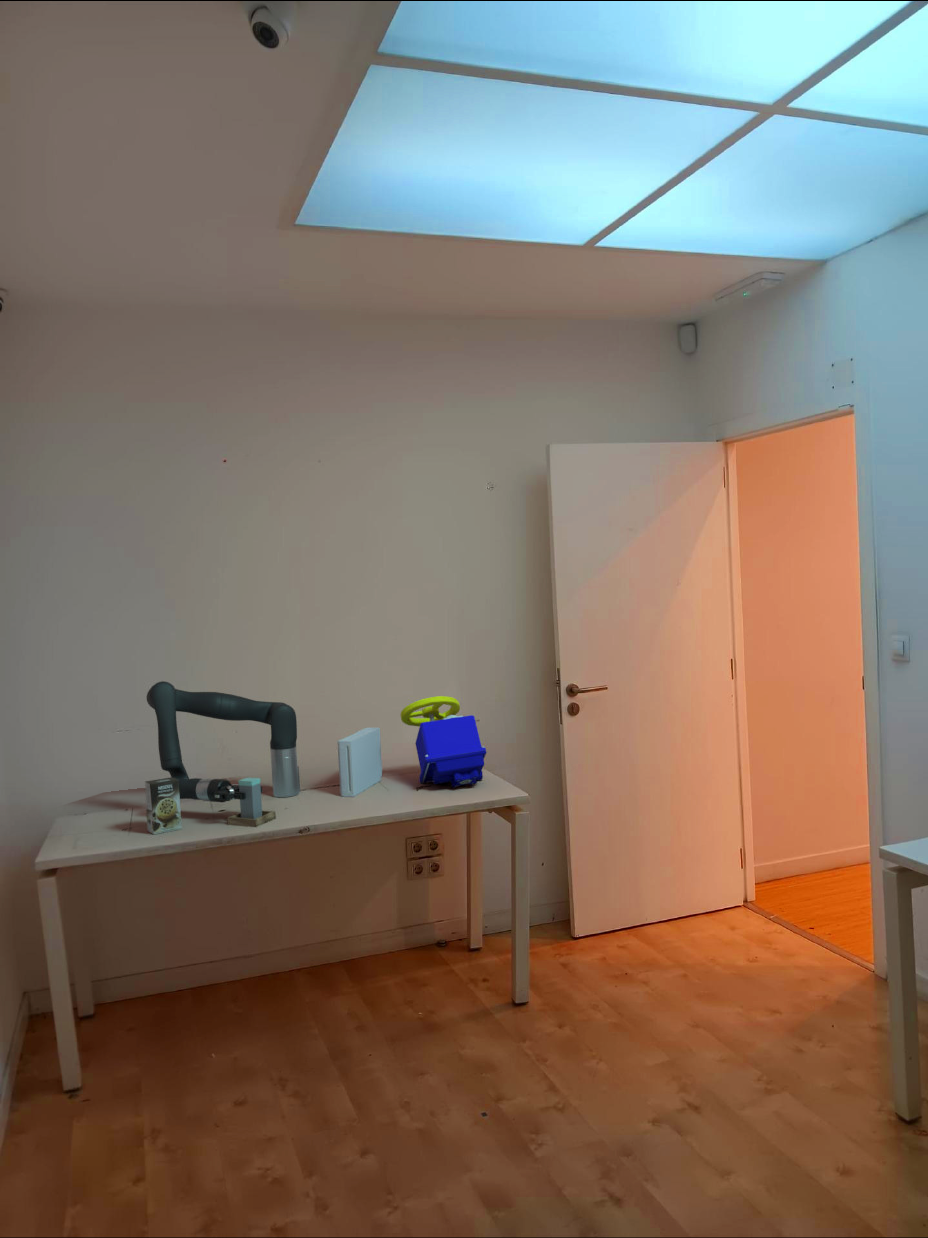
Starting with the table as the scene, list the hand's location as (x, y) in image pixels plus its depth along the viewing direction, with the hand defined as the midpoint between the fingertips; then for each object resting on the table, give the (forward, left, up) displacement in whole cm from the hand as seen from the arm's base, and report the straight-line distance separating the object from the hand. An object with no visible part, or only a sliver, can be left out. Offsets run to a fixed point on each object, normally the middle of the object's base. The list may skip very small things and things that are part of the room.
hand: (253, 793), depth 303 cm
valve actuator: (-62, +38, -10) cm, 74 cm away
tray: (0, -1, -9) cm, 10 cm away
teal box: (0, -1, -9) cm, 9 cm away
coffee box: (+16, -23, -10) cm, 30 cm away
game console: (-50, +10, -10) cm, 52 cm away
